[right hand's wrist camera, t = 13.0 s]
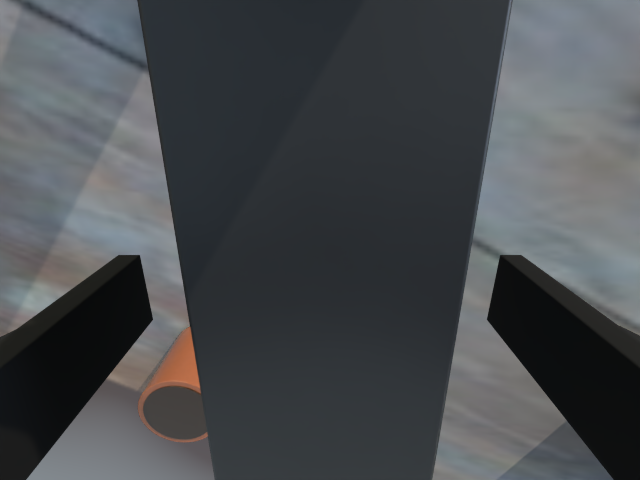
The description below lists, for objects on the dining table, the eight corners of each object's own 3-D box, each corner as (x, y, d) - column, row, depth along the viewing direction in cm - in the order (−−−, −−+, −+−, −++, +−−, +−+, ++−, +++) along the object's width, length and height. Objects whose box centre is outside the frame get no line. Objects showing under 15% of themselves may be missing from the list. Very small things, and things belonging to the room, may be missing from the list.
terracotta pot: (243, 377, 38) (224, 443, 30) (179, 377, 38) (145, 444, 30) (237, 323, 35) (215, 381, 28) (170, 323, 35) (129, 381, 28)
